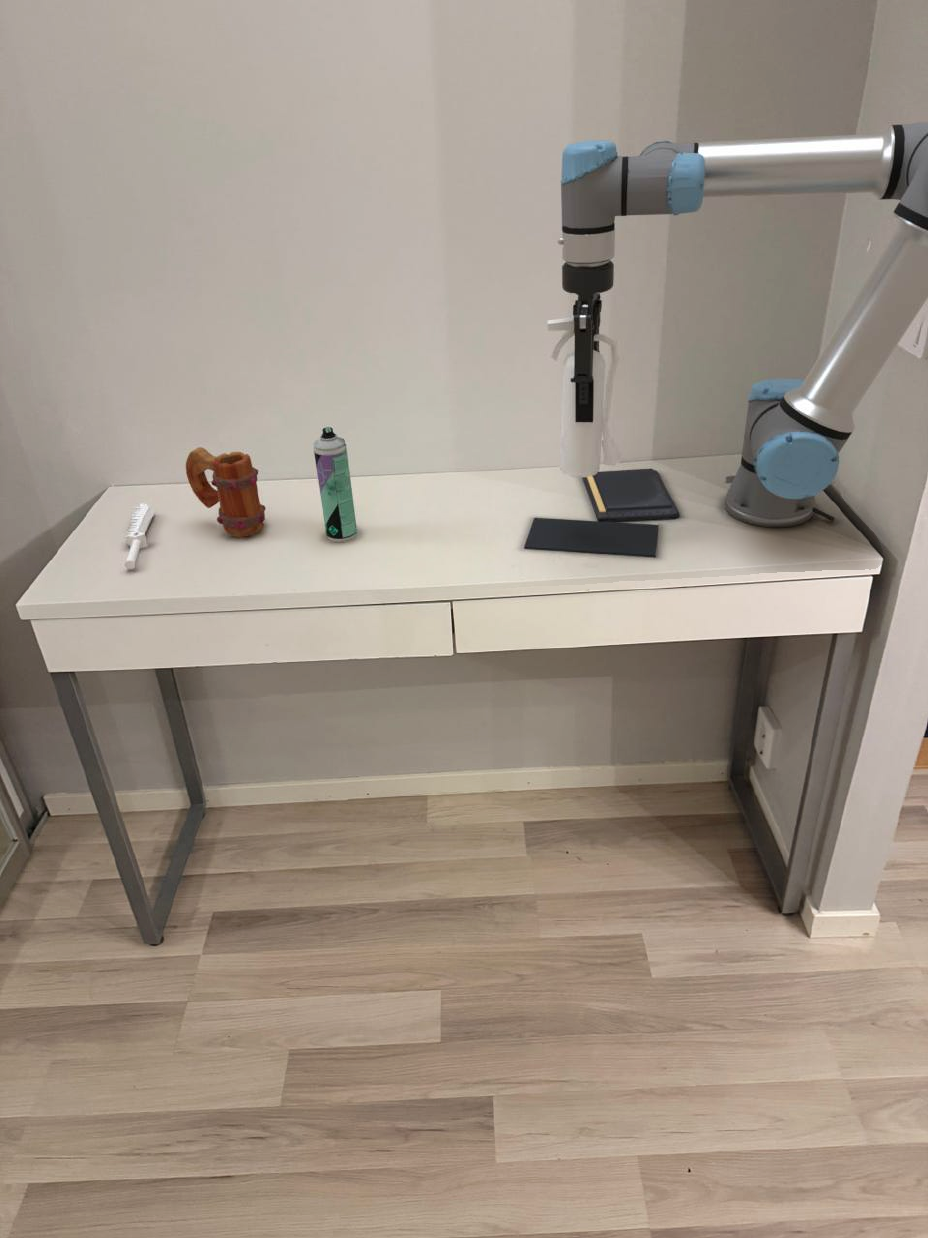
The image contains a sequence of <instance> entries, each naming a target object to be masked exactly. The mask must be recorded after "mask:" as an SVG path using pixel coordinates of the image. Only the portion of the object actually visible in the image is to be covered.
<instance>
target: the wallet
mask: <svg viewBox="0 0 928 1238" xmlns="http://www.w3.org/2000/svg"><path fill="white" fill-rule="evenodd" d="M581 478H582V482H583V485H584V486H585V489H586V492H587V494H588V498H589V500H590V503H591V506H592V508H593V512H594V514H595V516H596V521H600V522H631V521H650V520H651V521H653V520H668V519H669V520H670V519H676V518H679V517H680V515H681V513H680V511H679V509H678V507H677V505H676V503H675V501H674V499H673V498H672V496H671V494H670V493H669V491H668V489H667V487H666V485H665V483H664V481H663V479H662V476H661V475H660V473H659V471H657V470H655V469H653V468H637V469H620V470H619V469H618V470H604V471H598V472H597V474H596V475H592V476H588V477H581Z"/></svg>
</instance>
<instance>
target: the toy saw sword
mask: <svg viewBox="0 0 928 1238" xmlns="http://www.w3.org/2000/svg"><path fill="white" fill-rule="evenodd" d="M154 515H155V509H153V508H151V507H150V506H149V505H148V504H147V503H139V505H138V506H135V507H133V512H132V515H131V516H130V517H131V518H130V520H131V521H130V524H129V526H130V527H128V530H127V531H126V536H124V539H127V541H128V542H127V543H126V544H127V545H128V546H129V548H130V549H129V551H128V555H127V559H126V561H125V562H124V566H125V568H126V569H128V570H133V569H135V567H136V561H137V558H138V555H139V552H140V550H141V549H144V548H148V547H149V545H148V540H147V537H146V533H147V530H148V528H149V526H150V524H151V523H152V521H153V517H154Z"/></svg>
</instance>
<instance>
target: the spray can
mask: <svg viewBox="0 0 928 1238" xmlns="http://www.w3.org/2000/svg"><path fill="white" fill-rule="evenodd" d="M313 453H314V461H315V468H316V474H317V482H318V487H319V495H320V500H321V501H320V502H321V508H322V516H323V522H324V529H325V533H326V534H325V535H326V539H327V540H328V541H329V542H332V543H346V542H350V541H353V540H354V539H355V538H356V537H357V536H358V527H357V521H356V511H355V504H354V495H353V490H352V489H353V488H352V481H351V480H352V479H351V473H350V472H351V471H350V465H349V457H348V449H347V444H346V440H345V439H344V438H342V437H340V436H338V435H337V433H335V432H334V428H333V427H331V426H326V427H323V428H322V434H321V435H320V436H319V438H318V439H317V440H315V441H314V442H313Z"/></svg>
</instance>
